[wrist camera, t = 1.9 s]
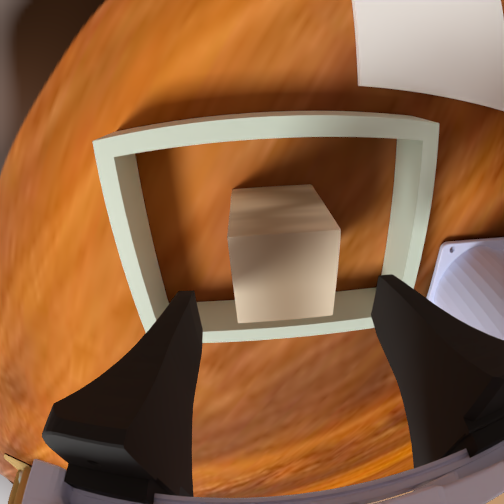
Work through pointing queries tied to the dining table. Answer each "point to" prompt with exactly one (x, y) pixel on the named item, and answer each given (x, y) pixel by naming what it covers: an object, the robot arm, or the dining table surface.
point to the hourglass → (18, 480)
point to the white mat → (432, 47)
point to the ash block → (282, 253)
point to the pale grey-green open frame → (263, 127)
